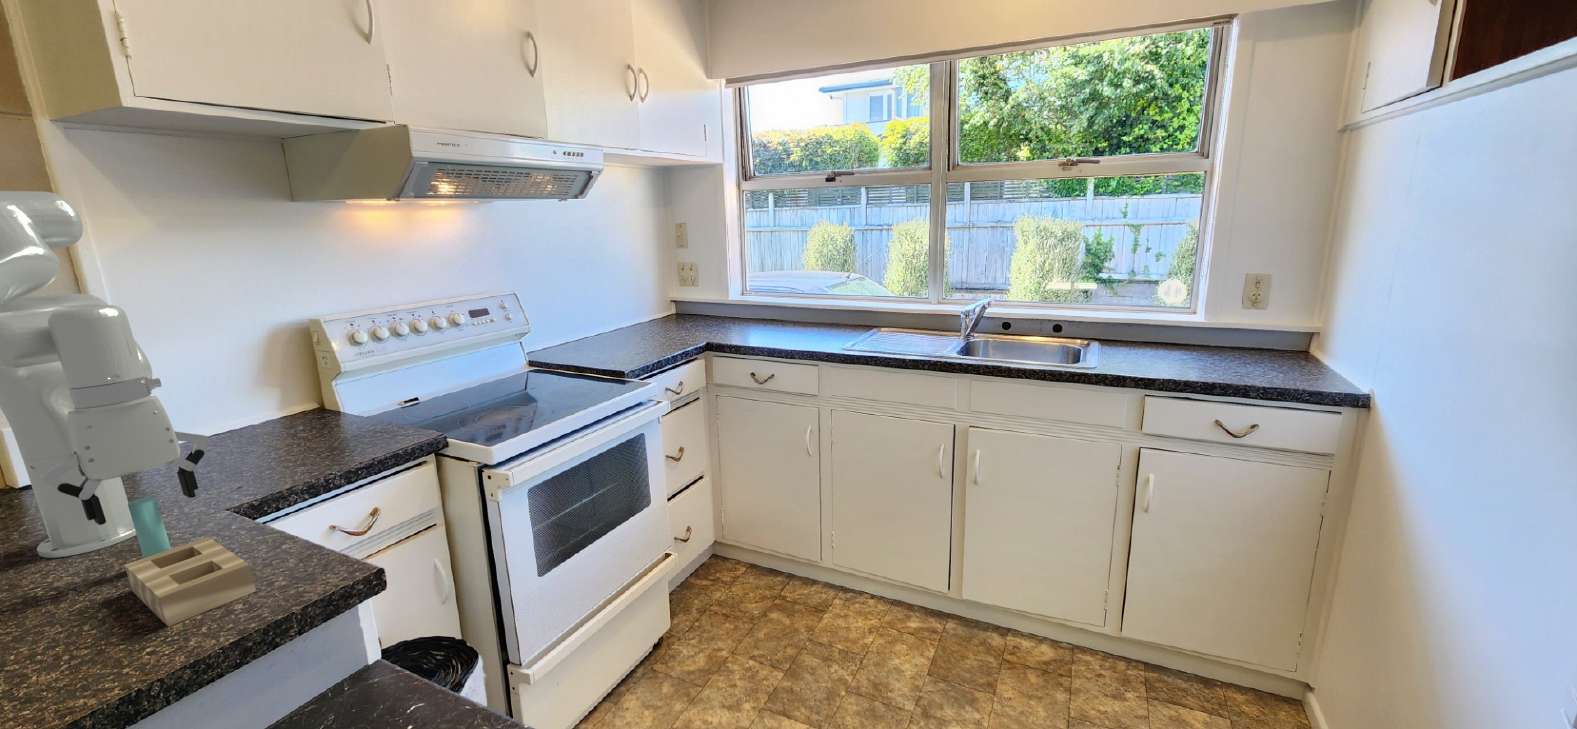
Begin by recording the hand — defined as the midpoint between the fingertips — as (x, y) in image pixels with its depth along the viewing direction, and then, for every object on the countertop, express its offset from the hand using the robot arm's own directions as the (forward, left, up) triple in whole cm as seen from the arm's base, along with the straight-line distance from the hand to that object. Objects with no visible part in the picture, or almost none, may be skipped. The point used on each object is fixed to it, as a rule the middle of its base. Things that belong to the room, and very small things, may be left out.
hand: (147, 508), depth 95 cm
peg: (-1, 0, -9) cm, 9 cm away
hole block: (+14, 0, -9) cm, 17 cm away
